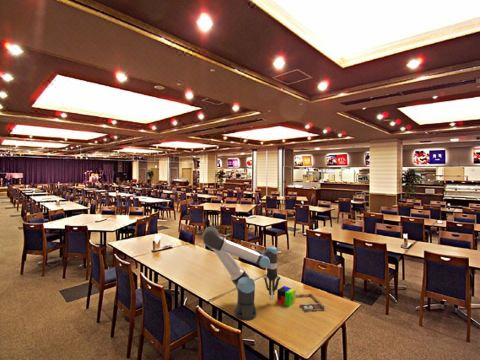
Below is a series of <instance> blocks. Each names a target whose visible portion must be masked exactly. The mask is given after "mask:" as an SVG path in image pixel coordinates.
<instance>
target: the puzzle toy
mask: <svg viewBox="0 0 480 360" xmlns="http://www.w3.org/2000/svg"><path fill="white" fill-rule="evenodd" d="M276 291H277V295H276V302H277V303H278V304H281V305H284V306H287V307H290V306H292V305H293V304H295V303H296V297H295V296H296V294H297V293H296V289H295V288H291V287H289V286H285V285H283V286H282V287H280V288H279V289H278V288H277V290H276Z"/></svg>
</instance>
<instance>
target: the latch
mask: <svg viewBox="0 0 480 360" xmlns="http://www.w3.org/2000/svg"><path fill="white" fill-rule="evenodd" d="M304 310H313V307H312V306H309V305H307V306H304Z"/></svg>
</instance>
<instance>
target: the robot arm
mask: <svg viewBox="0 0 480 360" xmlns="http://www.w3.org/2000/svg"><path fill="white" fill-rule="evenodd" d="M201 235H202V243H203V244H204V245H205V246H206V247H208V249H209V250H213V252H214V253H215V255H216V257H218V259H219V260H220V262H221V263H222V265H223V266H224V268H225V269H226V271H227V272H228V274H229V275H230V281H231V282H232V283H233V284H234V286H235V289H236V291H237V300H236V301H237V303H236V305H235V308H234V316H235V318H236V319H238V320H242V321H251V320H253V319H255V318H257V307H256V304H255V296H256V295H255V293H256V292H255V291H256V283H255V280H254V279H253V278H251V277H250V276H249V274H248V273H247V272H246V270H245V269H244V268H241V267H240V266H239V264H238V262H237V261H236V259H234V257H233V256H236V257H238V258H240V259H243V260H246V261H248V262H250V263H254V264H256V265H257V266H260V267H261V268H263V269H266V276H263V277H262V278H263V280H264V283H265V288H266V290H267V291H268V295H269V299H270V301H273V300H274V296H275V291H277V290H278V286H279V283H280V280H281V276H279V275H278V248H277V246H276V247H275V246H274V245H273V246H267V249H255V250H254V249H253V250H252V249H250V248H248V247H245V246H243V245H240V244H238V243H235V242H233V241H231V240H228V239H226V237H224V236H222V235H221V233H219V231H218V229H217V228H216V227H214V226H208V227H206V228H205V229H204V230H203V232H202V234H201Z"/></svg>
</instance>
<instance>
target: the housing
mask: <svg viewBox="0 0 480 360" xmlns="http://www.w3.org/2000/svg"><path fill="white" fill-rule="evenodd" d="M310 297H311V298H312V300H314V301H315V302H316V303H300V304H299V308H300V310H301V311H302V312H303V313H320V312H327V310H326V309H325V305H324V304H323V303H322V302H321V301H320V300H319V299H318V298H317V297H316V296H315V295H314V294H313V293H299V294H297V293H296V296H295V298H310ZM307 305H309V306H312V307H313V310H304V306H307Z"/></svg>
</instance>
